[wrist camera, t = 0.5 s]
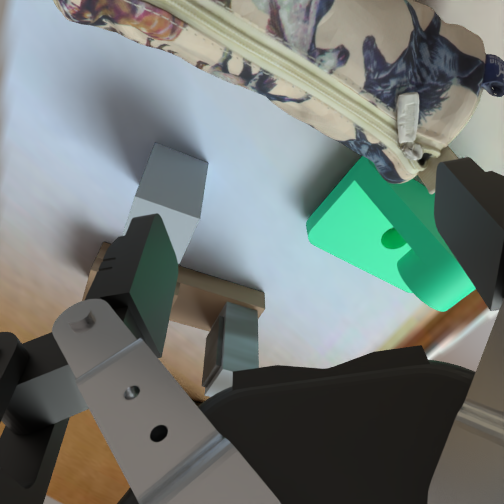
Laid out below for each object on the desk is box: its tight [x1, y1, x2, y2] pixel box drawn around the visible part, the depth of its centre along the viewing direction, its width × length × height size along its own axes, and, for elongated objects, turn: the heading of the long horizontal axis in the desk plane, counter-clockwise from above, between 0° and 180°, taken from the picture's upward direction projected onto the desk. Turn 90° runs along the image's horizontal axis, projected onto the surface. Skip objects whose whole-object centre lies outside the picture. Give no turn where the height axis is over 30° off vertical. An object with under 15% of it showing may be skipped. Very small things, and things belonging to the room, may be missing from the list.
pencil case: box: [53, 0, 504, 194], centre depth 21 cm, size 22×8×10 cm, turn 63°
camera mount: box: [306, 156, 476, 312], centre depth 31 cm, size 12×8×10 cm, turn 58°
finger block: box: [122, 142, 208, 264], centre depth 29 cm, size 4×4×7 cm
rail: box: [82, 242, 265, 397], centre depth 36 cm, size 5×15×9 cm, turn 66°
